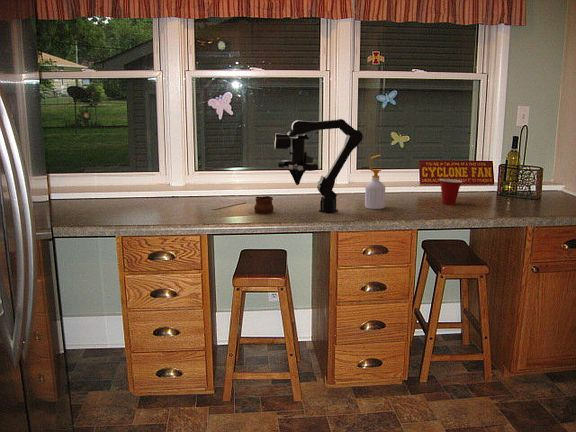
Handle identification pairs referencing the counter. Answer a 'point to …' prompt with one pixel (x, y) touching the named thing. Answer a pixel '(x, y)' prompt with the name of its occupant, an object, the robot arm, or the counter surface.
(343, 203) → the counter surface
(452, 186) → the plastic cup
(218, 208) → the strip
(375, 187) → the soap bottle
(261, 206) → the ceramic pot
